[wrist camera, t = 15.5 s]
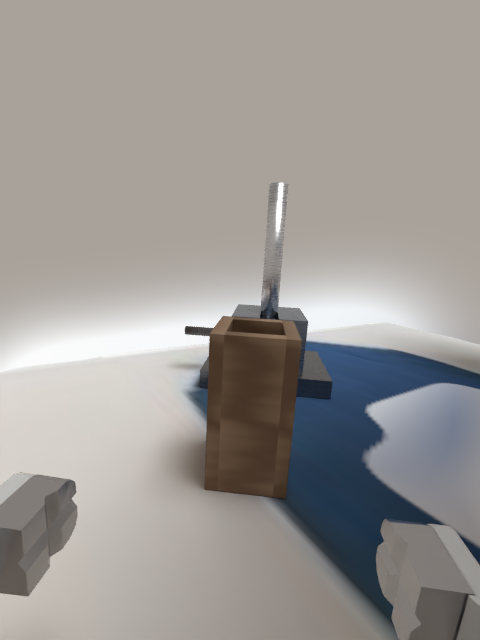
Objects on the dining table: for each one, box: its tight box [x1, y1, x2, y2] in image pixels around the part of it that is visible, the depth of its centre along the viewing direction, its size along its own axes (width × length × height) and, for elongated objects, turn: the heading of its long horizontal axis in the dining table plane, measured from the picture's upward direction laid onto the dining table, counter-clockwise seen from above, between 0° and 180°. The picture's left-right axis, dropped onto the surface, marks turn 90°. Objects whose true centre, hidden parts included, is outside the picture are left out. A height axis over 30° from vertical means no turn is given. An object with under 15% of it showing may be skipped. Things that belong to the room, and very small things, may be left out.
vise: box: [185, 183, 333, 399], centre depth 34 cm, size 17×10×22 cm, turn 85°
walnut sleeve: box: [205, 316, 302, 499], centre depth 19 cm, size 5×5×10 cm
